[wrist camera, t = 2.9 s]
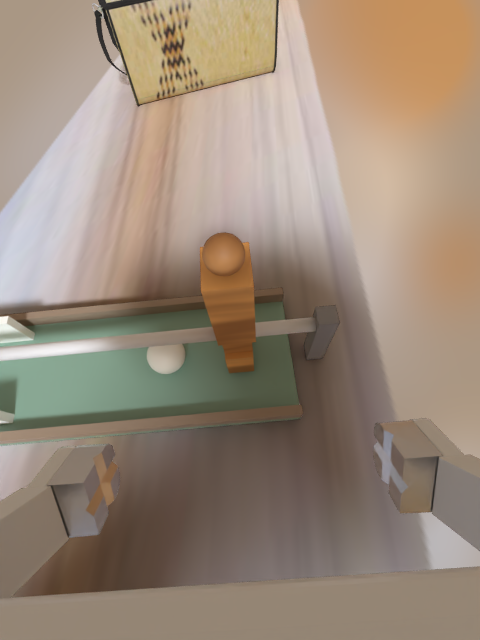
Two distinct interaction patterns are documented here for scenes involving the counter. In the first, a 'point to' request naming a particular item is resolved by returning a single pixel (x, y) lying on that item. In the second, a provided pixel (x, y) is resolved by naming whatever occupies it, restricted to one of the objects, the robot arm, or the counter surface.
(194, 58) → the clutch purse
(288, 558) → the counter surface
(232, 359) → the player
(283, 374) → the pitch
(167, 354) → the ball
